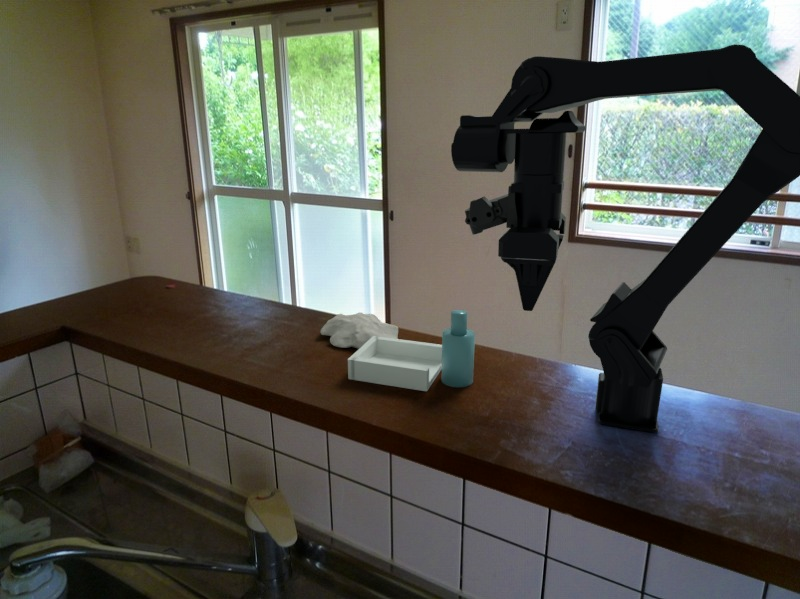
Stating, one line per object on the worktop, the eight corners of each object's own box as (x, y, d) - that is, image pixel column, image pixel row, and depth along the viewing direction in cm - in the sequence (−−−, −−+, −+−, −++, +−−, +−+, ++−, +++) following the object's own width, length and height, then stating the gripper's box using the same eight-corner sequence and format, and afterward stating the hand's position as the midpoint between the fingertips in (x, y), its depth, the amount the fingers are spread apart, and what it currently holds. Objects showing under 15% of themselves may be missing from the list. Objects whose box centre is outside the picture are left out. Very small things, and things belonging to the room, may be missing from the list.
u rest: (445, 363, 82) (445, 345, 82) (426, 391, 74) (426, 370, 73) (373, 353, 86) (373, 335, 85) (348, 379, 78) (347, 359, 77)
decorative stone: (307, 342, 92) (379, 372, 84) (305, 322, 90) (378, 351, 83) (349, 316, 100) (418, 341, 92) (348, 297, 98) (418, 321, 90)
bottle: (476, 375, 78) (478, 309, 75) (469, 389, 75) (471, 319, 71) (446, 371, 80) (447, 305, 77) (437, 384, 76) (438, 315, 73)
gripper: (485, 167, 76) (482, 277, 81) (453, 179, 60) (452, 317, 64) (569, 167, 73) (561, 282, 78) (560, 180, 56) (551, 325, 61)
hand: (532, 299), depth 70 cm, fingers open, 9 cm apart
